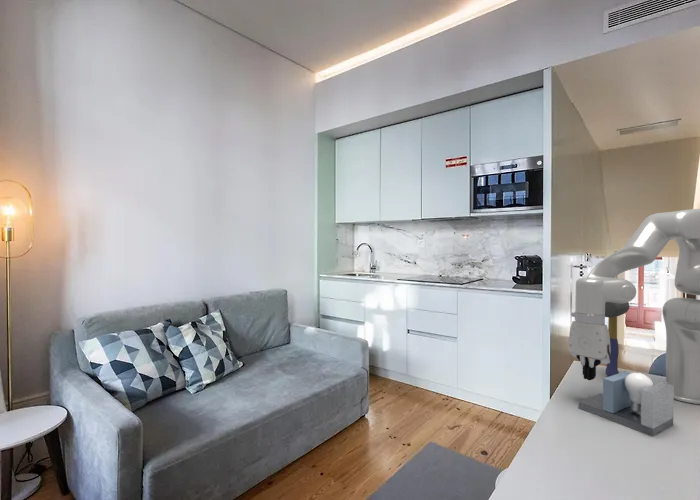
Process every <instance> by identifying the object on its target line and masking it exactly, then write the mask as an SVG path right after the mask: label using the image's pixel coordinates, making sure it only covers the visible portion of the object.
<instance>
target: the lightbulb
mask: <svg viewBox="0 0 700 500" xmlns="http://www.w3.org/2000/svg"><path fill="white" fill-rule="evenodd" d="M630 373H631V374H629V375H627V376H626V378H625V381H624V383H625V387H626V389H627V391H628V392H629V397H630V407H629V408H630V409H631V410H632V411H634V412H641V390H642V389H644V388H647V387H649V386H652V385H654V382H653V380H652V379H651V378H650V377H649V376H648V375H646V374H644V373H641V372H630Z"/></svg>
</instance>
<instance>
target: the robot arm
mask: <svg viewBox="0 0 700 500" xmlns="http://www.w3.org/2000/svg"><path fill="white" fill-rule="evenodd" d="M671 240H675V243H677V247H678V252H679V253H678V258H677V259H678V260H677V264H676V271H675V275H674V287H675V288H676V290H677V291H679V292H681V293H684V294H687V295H693V296H700V208H693V209H692V208H690V209H683V210H682V209H681V210H675V211H668V212H657V213H653V214H649V216H647V217H646V218H645V219H643V221H642V222H641V224H640V225H639V226H638V227H637V229H636V230H635V232H634V233H633V235H632V236H631V237H630V238H629V240H628V241H627V242H626V244H625V245H624V246H622V248H620V249H618V250H617V251H615V252H613V253H612V254H610V255H609V256H607V257H605V258H603V259H602V260H601V261H599V262H598V263H597V264H596V265H595V266H594V267H593V268H592V270H591V271H590V272H589V274H588V275H587V276H586V277H583V278H582V277H581V278H578V279H577V280H576V282H575V311H574V312H571V313H570V316H571V317H573V318H574V320H572V321H571V325H570V330H569V336H568V345H567V347H568V351H569V355H570V356H572V357H574V358H577V360H578V361H579V362H580V365H581V366H582V375H583V379H585V380H587V381H592V380H594V379H595V378H596V375H597V367H598V366H599V365H607V364H609V363H610V359H609V357H610V353H611V348H610V336H609V331H608V324H606V317H605V302H613V303H627V302H631V301H633V300H634V299H635V297H636V296H637V288H636V285H634V283H633V282H631V281H630V280H628V279H625V278H619V277H618V276H619V275H620V274H623V273H625V272H627V271H631V270H634V269H638V268H639V269H640V268H642V267H644V266H645V267H646V266H648V265H650V264H652V263H653V262H655V260H656V259H657V257H658V256H659V255H660V253H661V252H662V251H663V249H665V246H666V245H667V244H668V243H669V242H670V241H671ZM662 317H663V322H664V325H665V336H666V337H665V338H666V341H665V342H666V344H665V345H666V346H665V354H666V355H665V382H666V383H670V384H674V400H677V401H678V402H679V401H680V402H684V403H688V404H695V405H700V299H696V298H689V297H673V298H670V299H668V300H666V301H665V302H664V304H663V306H662Z"/></svg>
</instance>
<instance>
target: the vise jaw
mask: <svg viewBox="0 0 700 500" xmlns="http://www.w3.org/2000/svg"><path fill="white" fill-rule="evenodd" d="M631 373H632V372H629V371H622V372H619V373H618V374H615V375H612V376H609V377H608V376H607V377H604V378H603V379H602V380H603V381H602V383H603V384H602V390H603V391H602V394H603V410H605V411H608V412H611V413H615V412H617V411H620V410H622V409H624V408H626V407H629V406H630V397H629V392H628V391H627V389H626V387H625V383H624V381H625V378H626V376H627V375H629V374H631Z"/></svg>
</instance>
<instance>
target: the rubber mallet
mask: <svg viewBox="0 0 700 500" xmlns="http://www.w3.org/2000/svg"><path fill="white" fill-rule="evenodd" d="M629 302H630V301H629ZM629 302H627V303H613V302H605V318H608V324H607V327H608V331H609V336H610V348H611V353H610V357H609V359H610V363H609V364H606V368H605V374H606V376H607V377H609V376H612V375H615V374H618V373H620V372H619V370H618V367H619V366H618V364H619V363H618V359H619V350H620V349H619V348H620V346H619V341H618V330H617V329H618V317H619V316H621V315H624V314H626V313H628V312H629V309H630V303H629Z"/></svg>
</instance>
